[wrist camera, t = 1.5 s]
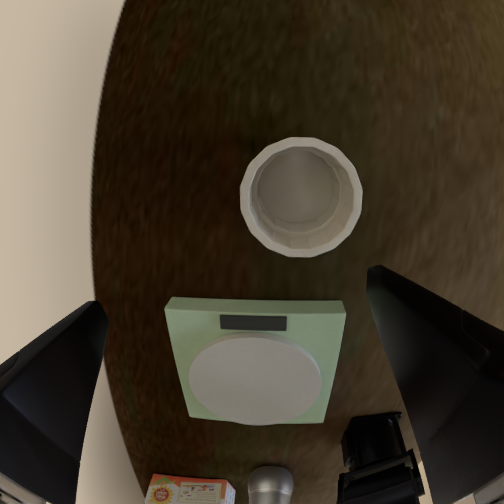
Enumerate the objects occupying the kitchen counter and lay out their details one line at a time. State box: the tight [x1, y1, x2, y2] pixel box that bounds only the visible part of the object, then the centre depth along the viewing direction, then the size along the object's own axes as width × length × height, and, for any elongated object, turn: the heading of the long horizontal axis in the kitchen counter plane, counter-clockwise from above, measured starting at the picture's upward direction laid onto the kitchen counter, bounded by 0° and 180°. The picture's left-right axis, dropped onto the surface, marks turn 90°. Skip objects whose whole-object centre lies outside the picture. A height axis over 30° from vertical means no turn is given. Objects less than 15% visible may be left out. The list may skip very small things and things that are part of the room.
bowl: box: [240, 137, 362, 257], centre depth 18 cm, size 7×7×5 cm
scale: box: [165, 297, 346, 425], centre depth 25 cm, size 14×14×3 cm
